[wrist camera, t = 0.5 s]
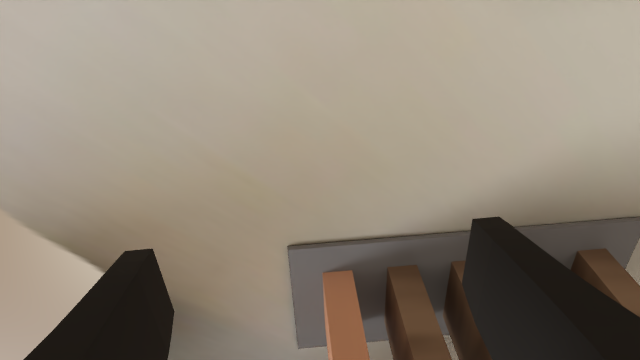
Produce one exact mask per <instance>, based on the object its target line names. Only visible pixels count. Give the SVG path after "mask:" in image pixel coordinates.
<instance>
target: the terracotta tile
mask: <svg viewBox="0 0 640 360" xmlns="http://www.w3.org/2000/svg"><path fill="white" fill-rule="evenodd" d="M322 275H323V294H324V314H325V330H326V339H327V348H328V358H329V360H370V359H369V354H368V349H367V344H366V338H365V333H364V328H363V323H362V318H361V313H360V308H359V302H358V297H357V292H356V287H355V282H354V277H353V272H352V270H349V271H337V272H326V273H322Z"/></svg>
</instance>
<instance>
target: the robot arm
mask: <svg viewBox="0 0 640 360" xmlns="http://www.w3.org/2000/svg"><path fill="white" fill-rule="evenodd" d="M462 286H463V289H464V292H465V295H466V298H467V301H468V304H469V307H470V310H471V313H472V316H473V319H474V322H475V324H476V326H477V329H478V331H479V333H480V335H481V337H482V339H483V341H484V343H485V346H486V348H487V350H488V352H489V354H490V356H491V358H492V360H640V317H639V316H637V315H636V314H634V313H633V312H631V311H630V310H628V309H627V308H625V307H624V306H622V305H621V304H619V303H617V302H616V301H614V300H613V299H611V298H610V297H608V296H607V295H605V294H604V293H602V292H601V291H600V290H598V289H597V288H595V287H594V286H592V285H591V284H589V283H588V282H587V281H585V280H584V279H582V278H581V277H580V276H578V275H577V274H575V273H574V272H573V271H571V270H570V269H568V268H567V267H566V266H564V265H563V264H562V263H560V262H559V261H558V260H556V259H555V258H554V257H552V256H551V255H550V254H548V253H547V252H546V251H544V250H543V249H542V248H540V247H539V246H538V245H536V244H535V243H534V242H532V241H531V240H530V239H528V238H527V237H526V236H525V235H523V234H522V233H521V232H519V231H518V230H517V229H515V228H514V227H513V226H511V225H510V224H509V223H507V222H506V221H504V220H503V219H502V218H500V217H491V218H480V219H473V220H472V226H471V232H470V238H469V244H468V250H467V255H466V261H465V267H464V273H463V279H462ZM173 317H174V309H173V306H172V303H171V301H170V298H169V295H168V292H167V289H166V286H165V283H164V280H163V277H162V274H161V271H160V268H159V265H158V263H157V260H156V257H155V254H154V251H153V249H144V250H133V251H125V252H124V253H123V254H122V255H121V256H120V257H119V258H118V259H117V260H116V261H115V263H114V264H113V265H112V266H111V267H110V268H109V269H108V270H107V272H106V273H105V274H104V275H103V276H102V277H101V278H100V279H99V280H98V282H97V283H96V284H95V285H94V286H93V287H92V289H90V290H89V292H88V293H87V294H86V295H85V296H84V297H83V298H82V299H81V301H80V302H79V303H78V304H77V305H76V306H75V307H74V308H73V309H72V310H71V311H70V313H69V314H68V315H67V316H66V317H65V318H64V319H63V320H62V321H61V322H60V323H59V324H58V326H57V327H56V328H55V329H54V330H53V331H52V332H51V333H50V334H49V335H48V336H47V337H46V338H45V339H44V340H43V341H42V342H41V343H40V344H39V345H38V346H37V347H36V348H35V349H34V350H33V351H32V352H31V353H30V354H29V355H28V356H27V357H26V358H25V359H24V360H167V358H168V354H169V347H170V341H171V333H172V325H173Z"/></svg>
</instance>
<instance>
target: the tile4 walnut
mask: <svg viewBox="0 0 640 360" xmlns="http://www.w3.org/2000/svg"><path fill="white" fill-rule="evenodd" d="M384 323H385V327H386V331H387V335H388V339H389V343H390V347H391V351H392V355H393V359H394V360H452V359H451V356H450V353H449V351H448V348H447V345H446V343H445V340H444V337H443V334H442V332H441V329H440V326H439V324H438V321H437V318H436V315H435V313H434V310H433V307H432V305H431V302H430V299H429V296H428V294H427V291H426V288H425V285H424V283H423V280H422V277H421V275H420V272H419V269H418V266H417V265H407V266H395V267H387V283H386V299H385V316H384Z"/></svg>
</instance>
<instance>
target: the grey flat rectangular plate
mask: <svg viewBox="0 0 640 360" xmlns="http://www.w3.org/2000/svg"><path fill="white" fill-rule="evenodd" d="M514 228H515V229H517V230H518V231H519V232H521V233H522V234H523V235H525V236H526V237H527V238H528V239H530V240H531V241H532V242H534V243H535V244H536V245H538V246H539V247H540V248H542V249H543V250H544V251H546V252H547V253H548V254H550V255H551V256H552V257H554V258H555V259H556V260H558V261H559V262H560V263H562V264H563V265H564V266H566V267H567V268H568V269H570V270H571V267H572V264H573V262H574V259H575V256H576V253H577V251H581V250H593V249H604V248H606V249H607V250H608V251H609V252H610V254H611V255H612V256H613V257H614V258H615V259H616V260H617V261H618V262H619V264H620V265H621V266H622V267H623V268H624V269H625V268H626V266H627V264H628V261H629V259H630V257H631V255H632V253H633V251H634V248H635V246H636V244H637V242H638V240H639V238H640V217H633V218H621V219H609V220H597V221H585V222H573V223H561V224H549V225H537V226H525V227H514ZM470 232H471V231H465V232H453V233H441V234H429V235H417V236H405V237H393V238H381V239H369V240H357V241H345V242H333V243H321V244H309V245H297V246H288V256H289V266H290V275H291V285H292V294H293V304H294V313H295V323H296V332H297V342H298V349H300V348H311V347H322V346H327V339H326V330H325V314H324V294H323V275H322V273H326V272H337V271H349V270H352V272H353V277H354V282H355V287H356V292H357V297H358V302H359V308H360V313H361V318H362V323H363V328H364V333H365V338H366V342H375V341H386V340H389V339H388V335H387V331H386V327H385V323H384V316H385V299H386V283H387V267H395V266H407V265H417V266H418V269H419V272H420V275H421V277H422V280H423V283H424V285H425V288H426V291H427V294H428V296H429V299H430V302H431V305H432V307H433V310H434V313H435V315H436V318H437V321H438V324H439V326H440V329H441V332H442V334H443V335H450V334H449V332H448V329H447V326H446V324H445V321H444V319H443V310H444V304H445V298H446V292H447V286H448V280H449V274H450V268H451V262H453V261H465V260H466V255H467V250H468V244H469V238H470Z"/></svg>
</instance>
